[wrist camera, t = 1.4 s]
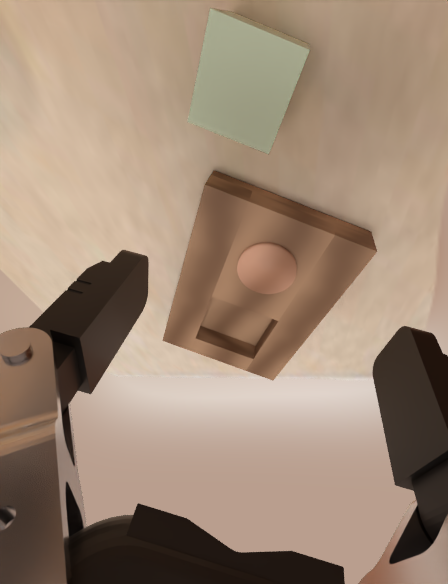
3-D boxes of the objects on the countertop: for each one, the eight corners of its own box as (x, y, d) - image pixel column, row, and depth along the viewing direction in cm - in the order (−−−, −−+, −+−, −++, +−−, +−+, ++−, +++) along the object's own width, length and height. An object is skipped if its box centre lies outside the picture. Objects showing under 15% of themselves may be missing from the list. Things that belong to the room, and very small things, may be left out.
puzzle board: (170, 322, 38) (160, 344, 36) (214, 170, 25) (202, 187, 22) (275, 360, 39) (272, 384, 36) (371, 231, 26) (378, 255, 23)
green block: (211, 102, 22) (187, 122, 18) (233, 12, 19) (210, 7, 14) (276, 128, 22) (268, 154, 18) (309, 44, 19) (309, 50, 14)
